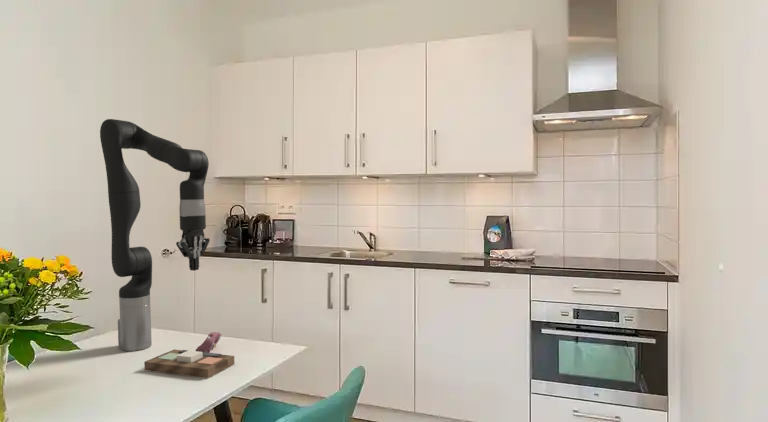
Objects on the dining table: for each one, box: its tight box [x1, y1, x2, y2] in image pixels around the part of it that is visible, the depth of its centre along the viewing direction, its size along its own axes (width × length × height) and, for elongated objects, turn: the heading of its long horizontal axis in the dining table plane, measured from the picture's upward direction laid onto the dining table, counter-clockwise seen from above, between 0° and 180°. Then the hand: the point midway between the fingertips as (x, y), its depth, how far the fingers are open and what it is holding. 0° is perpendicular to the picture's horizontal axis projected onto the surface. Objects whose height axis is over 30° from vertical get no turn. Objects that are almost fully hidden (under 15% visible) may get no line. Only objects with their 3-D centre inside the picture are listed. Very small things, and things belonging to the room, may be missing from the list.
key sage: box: [158, 353, 179, 360], centre depth 152 cm, size 5×5×2 cm
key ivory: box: [177, 350, 203, 363], centre depth 150 cm, size 5×5×2 cm
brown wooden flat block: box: [143, 348, 235, 379], centre depth 150 cm, size 22×12×3 cm, turn 71°
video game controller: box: [195, 331, 222, 353], centre depth 166 cm, size 10×5×7 cm, turn 0°
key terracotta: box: [197, 357, 223, 365], centre depth 147 cm, size 5×5×2 cm
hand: (194, 270), depth 159 cm, fingers closed
